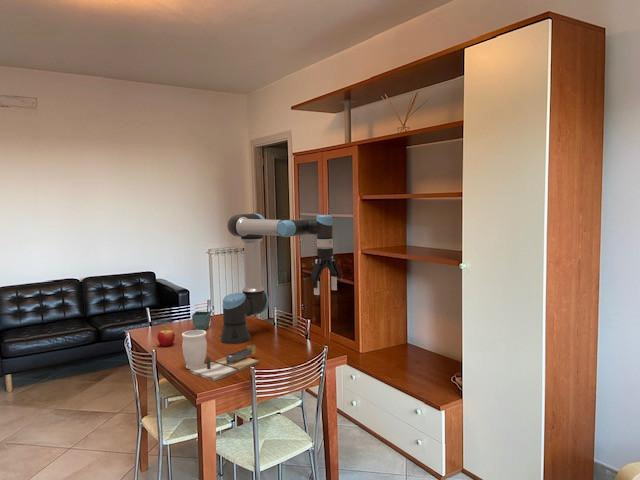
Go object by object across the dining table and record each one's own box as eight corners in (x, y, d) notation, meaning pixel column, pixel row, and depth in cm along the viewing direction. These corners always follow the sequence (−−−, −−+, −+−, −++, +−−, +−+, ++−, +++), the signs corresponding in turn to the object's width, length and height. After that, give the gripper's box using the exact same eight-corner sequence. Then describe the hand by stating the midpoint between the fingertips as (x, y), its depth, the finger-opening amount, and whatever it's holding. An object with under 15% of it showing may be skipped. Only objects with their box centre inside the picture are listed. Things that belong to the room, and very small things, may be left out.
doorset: (189, 372, 203) (189, 358, 202) (234, 356, 222) (234, 343, 222) (214, 381, 193) (214, 366, 192) (259, 363, 213) (259, 350, 212)
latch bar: (230, 362, 207) (230, 354, 207) (224, 361, 210) (223, 353, 209) (256, 353, 219) (256, 345, 219) (250, 351, 222) (249, 344, 221)
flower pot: (207, 331, 266) (207, 315, 265) (192, 331, 266) (191, 315, 265) (211, 326, 275) (211, 311, 274) (196, 326, 275) (195, 311, 274)
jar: (185, 362, 215) (184, 329, 214) (209, 361, 216) (208, 329, 215) (180, 371, 204) (179, 336, 203) (205, 370, 205) (204, 335, 204)
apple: (154, 345, 241) (153, 326, 240) (169, 341, 247) (169, 322, 246) (162, 349, 235) (162, 329, 234) (178, 345, 241) (177, 325, 240)
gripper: (314, 250, 213) (315, 297, 215) (346, 245, 233) (347, 289, 235) (301, 249, 218) (302, 295, 220) (334, 245, 237) (334, 287, 239)
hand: (325, 292), depth 227 cm, fingers open, 13 cm apart
